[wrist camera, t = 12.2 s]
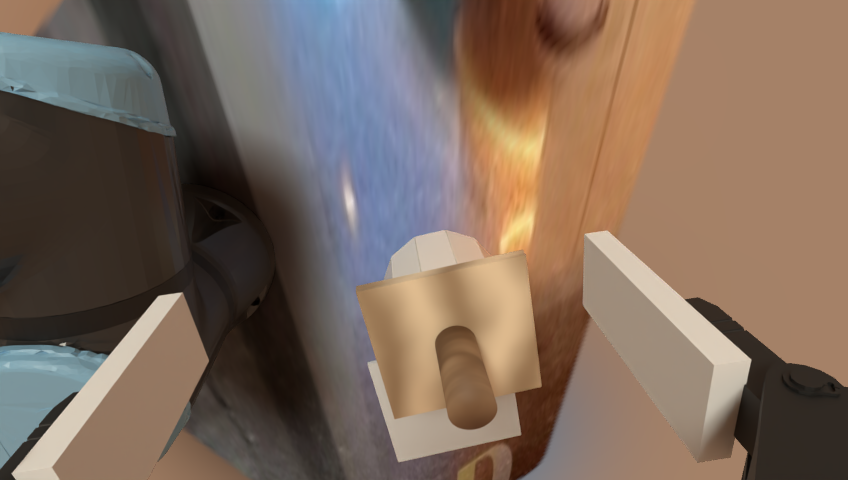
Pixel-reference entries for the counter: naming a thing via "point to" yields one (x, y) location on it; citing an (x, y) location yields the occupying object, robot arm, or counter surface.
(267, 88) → the counter surface
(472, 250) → the ceramic bowl
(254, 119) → the counter surface
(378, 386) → the grey mat
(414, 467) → the counter surface
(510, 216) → the counter surface
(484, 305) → the oak cover
